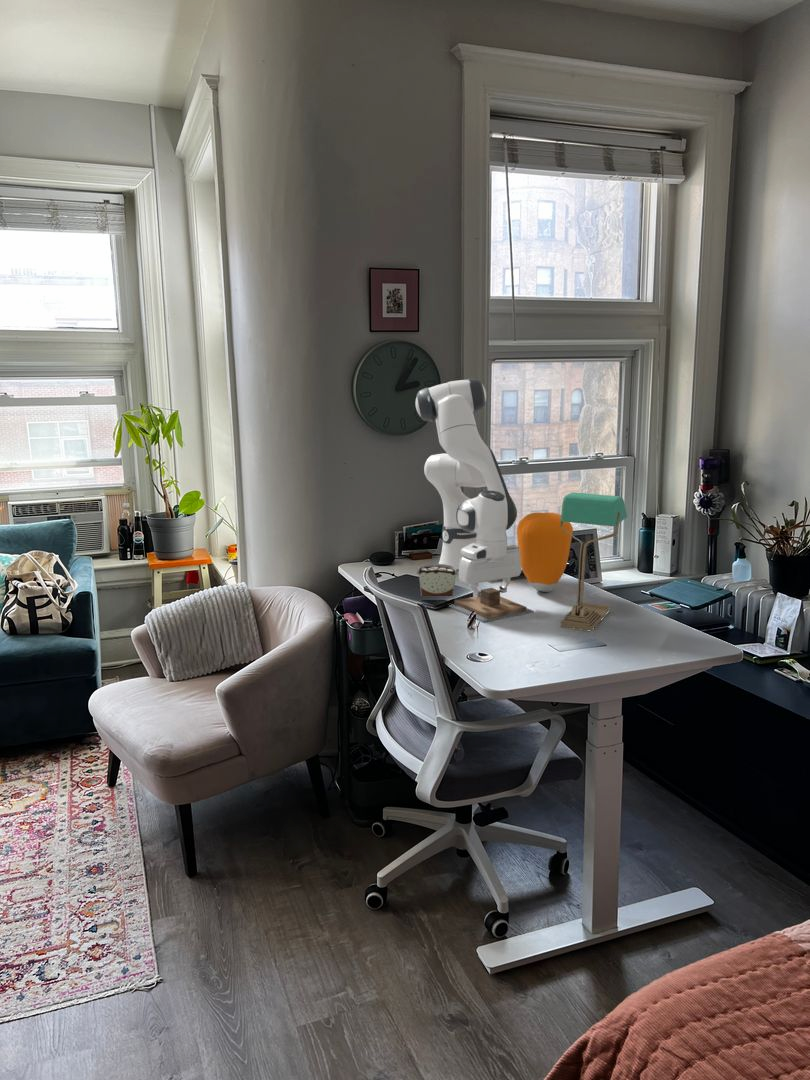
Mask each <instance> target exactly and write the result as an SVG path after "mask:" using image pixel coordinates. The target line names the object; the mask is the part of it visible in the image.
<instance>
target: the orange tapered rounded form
mask: <svg viewBox="0 0 810 1080" xmlns="http://www.w3.org/2000/svg"><path fill="white" fill-rule="evenodd" d="M560 521H561V514H559V513H556V512H532V513H528V514H527V515H525V516H524V517H523V518H522V519H521V520H520V521H519V522H518V524H517V528H516V537H517V546H518V547H519V549H520V560H521V571H522V572H523V574H524V576H525V577H526V580H527V581H528V583H529V584H530V586H531V587H532V588H533V589H534V590H536V591H538V592H544V593H548V592H551V591H552V590H553V589H554V588H555V586H556V584H557V583H558V582H559V581H560V579H561V578H562V576H563V574H564V572H565V571H566V567H567V565H568V561H569V555H570V549H571V543H572V540H573V539H572V538H573V537H572V536H570V535H568V534H567V533H565V532H564V531H563V530H562V529H561V527H560ZM573 527H574V526H572V522H563V525H562V528H563V529H564V530H566V531H567V532H568V533H570V534H571V535H573V534H574V533H573V532H574V528H573Z"/></svg>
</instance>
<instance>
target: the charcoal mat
mask: <svg viewBox="0 0 810 1080" xmlns="http://www.w3.org/2000/svg"><path fill="white" fill-rule="evenodd" d="M453 603H454V604H451V603H450V604H451V605H449V606H448V607H449V608H451V609H453V610H456V611H458V612H460V613H462V614H464V615H466V616H468V617H470V616H469V615H470V613H471V611H469V610H466V609H464V608H462V607H460V606H458V605H455V602H453ZM534 612H535V611H534V610H532V609H530V608H528V607H526V611H524V612H519V613H514V614H509V615H504V616H499V617H494V618H489V619H486V618H484V617H482V616H480V615H477V614H476V619H475V620H478V621H479V622H481V623H488V622H491V621H492V622H493V621H497V620H503V619H507V618H512V617H517V616H522V615H527V614H532V613H534Z"/></svg>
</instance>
